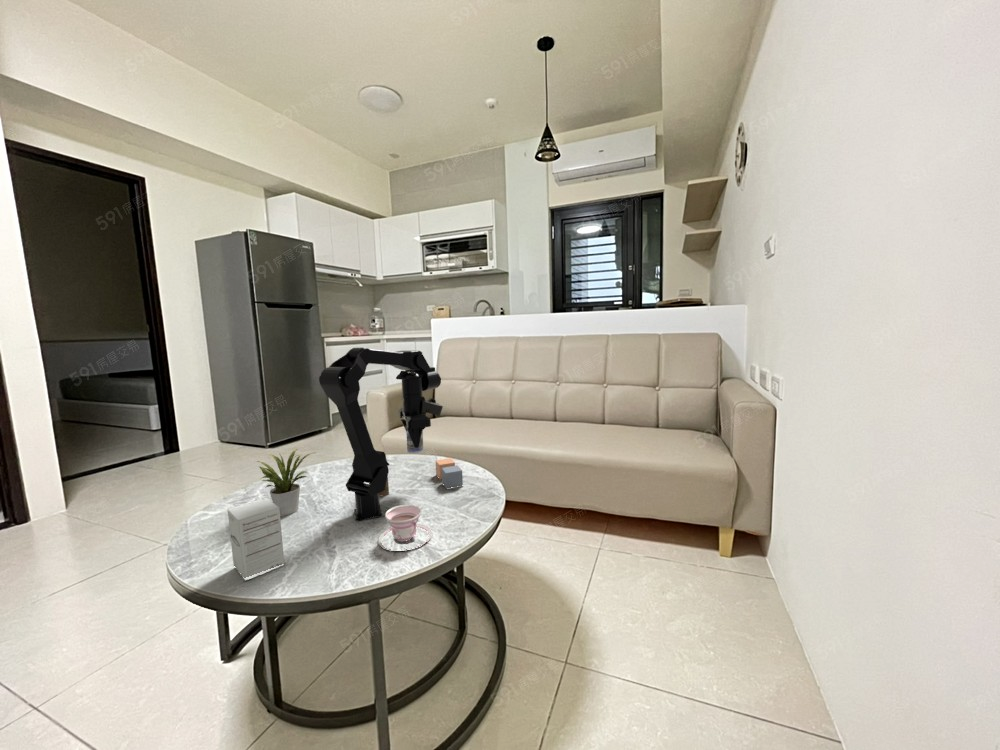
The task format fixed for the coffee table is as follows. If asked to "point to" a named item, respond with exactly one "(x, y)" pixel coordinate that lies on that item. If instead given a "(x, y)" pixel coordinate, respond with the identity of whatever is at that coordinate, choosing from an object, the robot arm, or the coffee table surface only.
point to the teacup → (404, 523)
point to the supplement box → (256, 537)
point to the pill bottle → (411, 447)
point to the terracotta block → (443, 465)
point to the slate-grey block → (452, 476)
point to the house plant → (284, 484)
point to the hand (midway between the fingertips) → (415, 445)
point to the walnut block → (384, 490)
